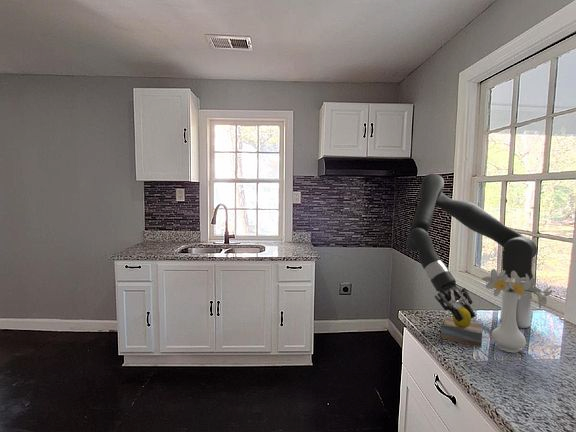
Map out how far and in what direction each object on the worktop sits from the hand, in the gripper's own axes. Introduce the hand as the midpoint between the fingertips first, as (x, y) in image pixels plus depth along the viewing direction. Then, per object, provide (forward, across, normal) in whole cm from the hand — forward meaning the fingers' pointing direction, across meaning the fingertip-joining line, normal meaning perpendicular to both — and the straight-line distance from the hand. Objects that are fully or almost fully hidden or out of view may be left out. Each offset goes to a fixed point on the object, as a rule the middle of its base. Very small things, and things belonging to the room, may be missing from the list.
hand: (466, 318), depth 113 cm
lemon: (+2, 0, -5) cm, 5 cm away
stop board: (+2, -3, -8) cm, 9 cm away
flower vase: (+13, -7, +2) cm, 15 cm away
